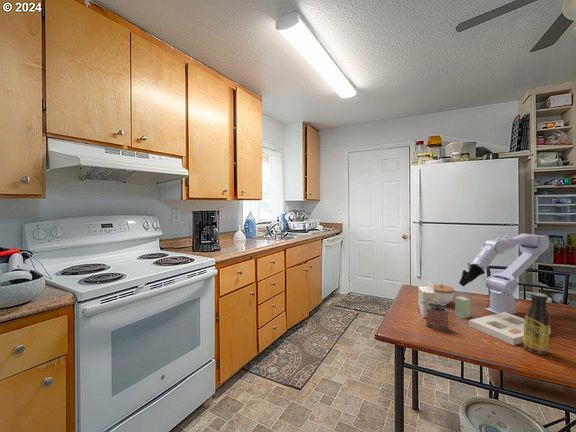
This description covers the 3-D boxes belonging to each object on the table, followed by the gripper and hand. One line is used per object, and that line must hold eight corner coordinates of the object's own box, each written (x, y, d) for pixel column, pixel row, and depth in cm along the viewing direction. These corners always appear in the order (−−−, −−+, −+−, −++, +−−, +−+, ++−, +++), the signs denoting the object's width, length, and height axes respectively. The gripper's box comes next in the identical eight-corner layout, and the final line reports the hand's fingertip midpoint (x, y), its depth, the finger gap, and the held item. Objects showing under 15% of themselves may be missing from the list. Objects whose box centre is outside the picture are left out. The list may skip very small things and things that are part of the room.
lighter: (447, 326, 109) (447, 302, 109) (449, 330, 106) (449, 305, 105) (425, 324, 112) (425, 300, 111) (426, 327, 108) (427, 303, 108)
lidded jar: (458, 306, 130) (458, 287, 129) (436, 306, 130) (436, 287, 129) (445, 298, 140) (446, 281, 140) (425, 299, 141) (425, 281, 140)
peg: (461, 313, 122) (461, 296, 121) (470, 316, 118) (470, 299, 118) (455, 314, 121) (455, 297, 120) (463, 318, 117) (464, 300, 116)
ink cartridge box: (417, 310, 126) (417, 279, 125) (428, 311, 125) (429, 280, 124) (422, 318, 117) (423, 285, 117) (435, 319, 116) (435, 285, 116)
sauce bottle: (518, 346, 94) (519, 290, 93) (534, 345, 94) (536, 290, 93) (536, 357, 87) (539, 297, 86) (554, 355, 88) (556, 296, 87)
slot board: (504, 317, 117) (504, 311, 117) (550, 334, 102) (550, 327, 102) (469, 326, 109) (469, 319, 109) (513, 345, 94) (513, 337, 94)
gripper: (467, 259, 127) (450, 280, 125) (480, 249, 115) (461, 272, 112) (482, 269, 124) (465, 291, 122) (496, 260, 111) (478, 283, 109)
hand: (464, 282), depth 117 cm, fingers open, 7 cm apart
